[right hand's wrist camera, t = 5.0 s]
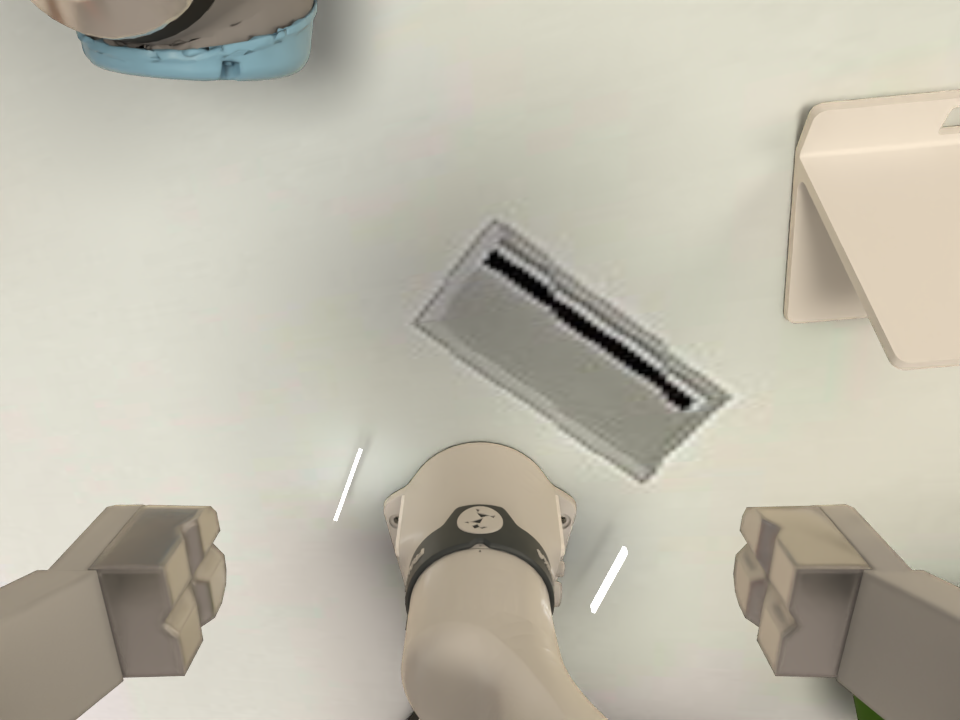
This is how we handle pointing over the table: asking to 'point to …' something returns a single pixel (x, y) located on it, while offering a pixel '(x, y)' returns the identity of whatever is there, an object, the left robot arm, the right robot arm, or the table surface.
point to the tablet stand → (880, 223)
